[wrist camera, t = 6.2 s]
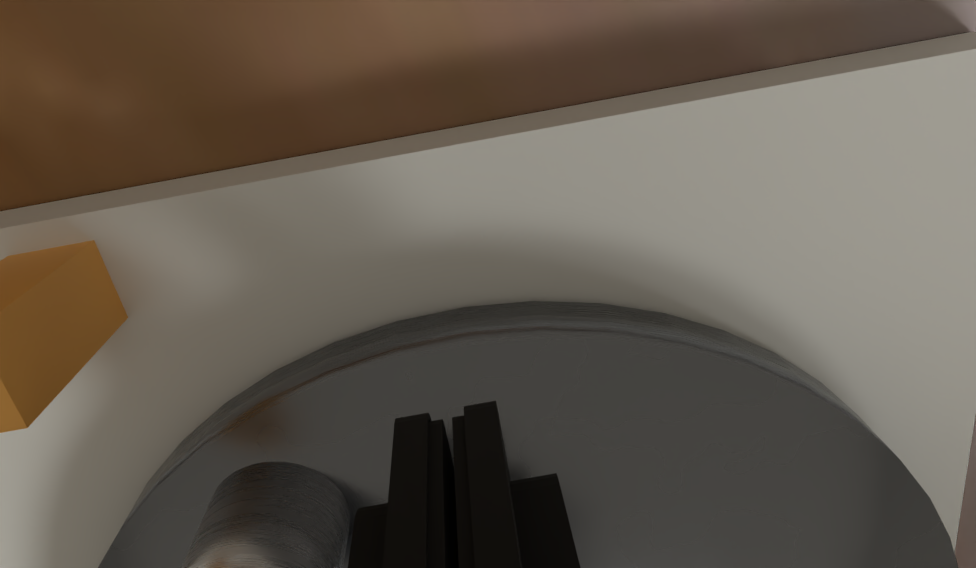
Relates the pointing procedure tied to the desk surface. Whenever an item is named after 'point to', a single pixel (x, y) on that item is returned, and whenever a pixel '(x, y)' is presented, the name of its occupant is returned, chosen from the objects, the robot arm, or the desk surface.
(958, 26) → the desk surface
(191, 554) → the dial
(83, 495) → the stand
